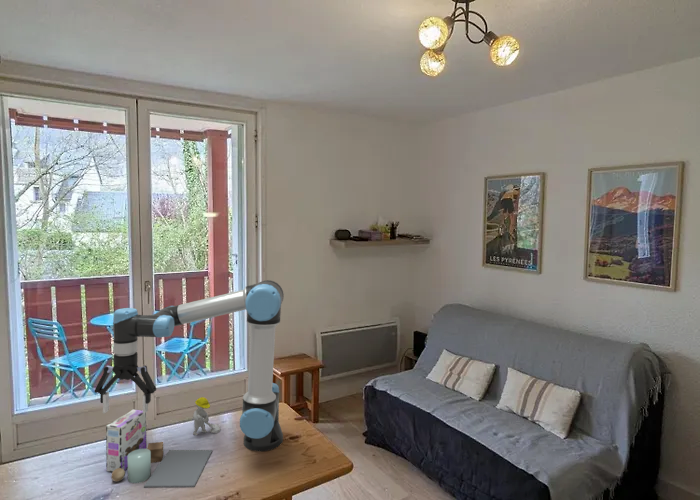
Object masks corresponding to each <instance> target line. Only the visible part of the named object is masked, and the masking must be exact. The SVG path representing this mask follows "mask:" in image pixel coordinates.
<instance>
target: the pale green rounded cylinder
mask: <svg viewBox="0 0 700 500" xmlns="http://www.w3.org/2000/svg"><path fill="white" fill-rule="evenodd" d="M127 459H128V468H127V481H128V482H129V483H130V484H131V483H132V484H139V483H143V482H145V481H146V482H147V481H148V479H149V478H150V477H151V475H152V467H151V466H152V463H151V451H150V450H149V449H137V450H134V451H132V452H130V453H129V454H128V456H127Z"/></svg>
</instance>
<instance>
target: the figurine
mask: <svg viewBox="0 0 700 500" xmlns="http://www.w3.org/2000/svg"><path fill="white" fill-rule="evenodd" d="M194 403H195V405H196V407H197V408H196V409H195V410H194V412H193V413H192V414H193V415H192V418H193V423H194V424H193V425H194V429H193V432H192V435H193V436H199V434H198V431H199V429H200V428H201V432H202V433H203V434H206V433H208V431H207V429H206V425H207V426H208V427H210V429H209V432H210V433H211V434H218V433H220V431H221V430H222V429H221V426H220V425H219V424H216V423H215V424H213V423H210V422H209V421H210V419H209V414H208V412H207V411H206V410H205V409H209V408H210V407H211V405H210V403H209V400H208V399H207V398H206V397H204V396H202V397H198V399H196V400H195V402H194Z"/></svg>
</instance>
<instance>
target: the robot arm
mask: <svg viewBox="0 0 700 500" xmlns="http://www.w3.org/2000/svg"><path fill="white" fill-rule="evenodd" d="M284 295H285V293H284V290H283V288H282V286H281V285H280V284H279V283H278V282H276V281H274V280H270V279H268V280H262V281H260V282H257V283H253V284H251V285H247V286H245V287H244V289H241V290H236V291H232V292H229V293H225V294H224V293H223V294H220V295H216V296H211V297H207V298H202V299H199V300H194V301H190V302H186V303H181V304H179V305H169V306H166V307H164V308H162V309H161V310H159V311H157V312H156V313H154V314H139V313H138V309H137V308H134V307H133V308H132V307H125V308H124V307H123V308H118V309H116V310H115V311H114V313H113V320H112V321H113V322H112V325H113V326H112V327H113V328H112V329H113V345H112V346H113V350H112V351H113V352H112V353H113V355H112V356H113V357H112V358H113V363H112V364H113V366H111V364H108V365H106V366H105V367H103V374H102V375H101V377H100V379H99V381H98V383H97V385H96V386H95V389H94V393H96V394H97V393H98V394H99V395H100V403H101V404H102V414H106V413H107V412H108V411H110V392H109V391H108V390H109V389H110V388H112V386H113V385H114V383H116V381H117V380H118V379H119V380H121V381H123V380H127V381H129V380H130V381H132V382H133V383H135V385H136V386H137V387H138V389H140V391H142V392H143V395H142V411H143V414H145V413H146V414H147V412H148V411H149V404H150V403H151V401H152V399H151V398H152V397H151V396H152V394H154V393H155V392H156V391H157V387H156V386H155V383H154V381H153V380H152V377H151V376H150V374H149V371H148V367H147V365H143V366H139V365H138V361H139V360H138V359H139V357H138V337H139V338H142V337H143V338H168V337H171V336H172V335H173V332H174V330H175V327H177V326H182V325H187V324H191V323H194V322H198V321H203V320H206V319H211V318H216V317H219V316H224V315H228V314H232V313H236V312H240V311H245V310H246V323H247V324H248V325H249V326H250V337H249V339H250V340H249V356H248V357H249V359H248V360H249V361H248V380H247V391H246V392H245V393H244V394H243V395H242V409H241V410H242V412H241V415H240V419H239V427H240V430H241V432H242V433H243V434H244V437H243V445H244V447H245V448H246V449H247V450H250V451H252V452H268V450H269V451H271V449H272V450H275V449H277V448H279V447H280V446H281V445H282V444H283V443H284V434H283V431H282V427H281V425H280V422H279V418H280V416H279V411H280V409H279V407H280V405H279V402H280V401H279V400H280V398H279V397H280V388H279V385H278V384H277V383H274V382H273V380H274V363H275V347H276V346H275V345H276V343H275V342H276V341H275V340H276V328H277V326H279V324H280V323H281V315H282V314H281V313H282V311H281V310H282V304H283V301H284ZM111 372H113V374H114V375H113V377H112V378H111V379H110V380H109V381H108V382H107V379H108V377H109V375H110V374H111ZM140 375H141V377H142V378H141V377H140ZM106 382H107V384H105V383H106ZM104 385H105V386H104ZM281 443H282V444H281ZM280 444H281V445H280ZM279 445H280V446H279ZM278 446H279V447H278ZM276 447H277V448H276ZM274 448H275V449H274Z"/></svg>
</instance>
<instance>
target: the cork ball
mask: <svg viewBox="0 0 700 500" xmlns="http://www.w3.org/2000/svg"><path fill="white" fill-rule="evenodd" d="M125 475H126V470H125V471H124V469H122V468H117V469H115V470H114V471H113V472H111V476H110V477H111V480H112V481H114V482H115V483H116V482H121V481H122V480H124V478H125Z"/></svg>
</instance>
